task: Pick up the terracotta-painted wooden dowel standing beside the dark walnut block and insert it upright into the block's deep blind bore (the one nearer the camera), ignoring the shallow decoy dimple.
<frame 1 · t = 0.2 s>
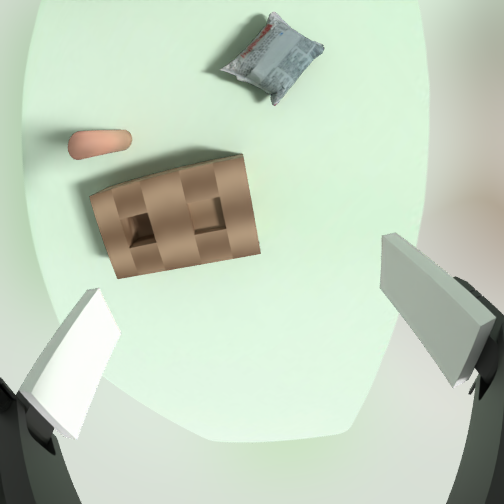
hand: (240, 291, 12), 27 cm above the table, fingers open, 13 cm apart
packaged food: (271, 59, 30), on the table
dowel: (122, 140, 33), on the table
bore block: (180, 210, 38), on the table
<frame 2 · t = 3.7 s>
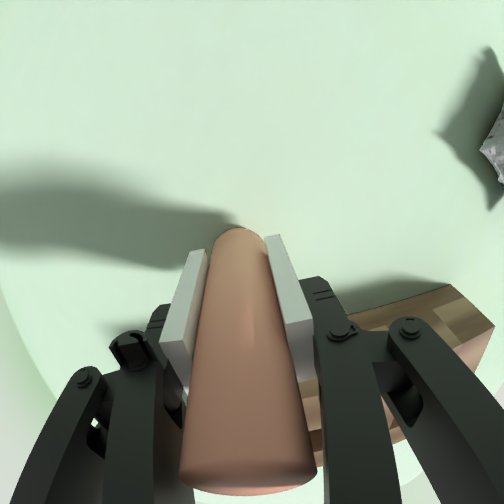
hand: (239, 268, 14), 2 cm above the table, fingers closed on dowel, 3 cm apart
packaged food: (503, 135, 13), on the table
dowel: (239, 253, 15), on the table, touching gripper
bore block: (340, 371, 20), on the table
when the fingers open (7 cm above the table, at t = 7.3 s): dowel stays where it is, resting on bore block.
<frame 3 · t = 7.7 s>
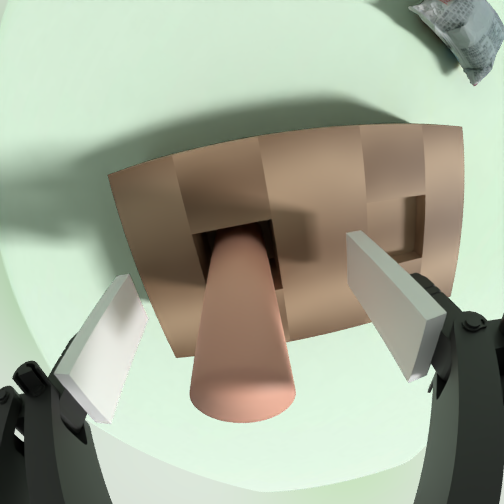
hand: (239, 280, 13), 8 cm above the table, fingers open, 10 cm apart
packaged food: (446, 21, 13), on the table
dowel: (239, 236, 18), point 2 cm above the table, touching bore block
bore block: (300, 214, 20), on the table
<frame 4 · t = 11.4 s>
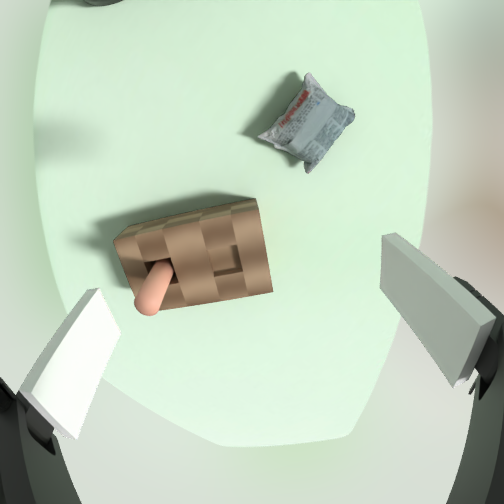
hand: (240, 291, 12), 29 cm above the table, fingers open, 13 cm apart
packaged food: (303, 122, 35), on the table
dowel: (167, 260, 40), point 2 cm above the table, touching bore block
bore block: (197, 249, 42), on the table
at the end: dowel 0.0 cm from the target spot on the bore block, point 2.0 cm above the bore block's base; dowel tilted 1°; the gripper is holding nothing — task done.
